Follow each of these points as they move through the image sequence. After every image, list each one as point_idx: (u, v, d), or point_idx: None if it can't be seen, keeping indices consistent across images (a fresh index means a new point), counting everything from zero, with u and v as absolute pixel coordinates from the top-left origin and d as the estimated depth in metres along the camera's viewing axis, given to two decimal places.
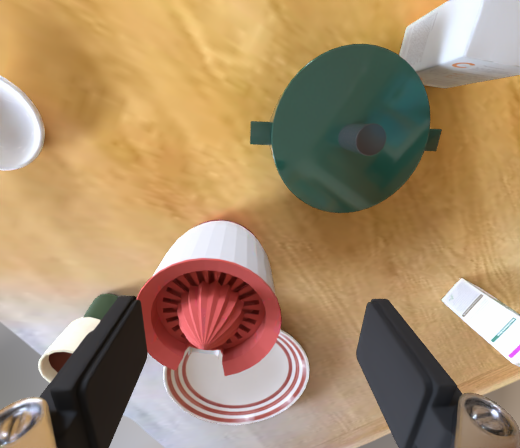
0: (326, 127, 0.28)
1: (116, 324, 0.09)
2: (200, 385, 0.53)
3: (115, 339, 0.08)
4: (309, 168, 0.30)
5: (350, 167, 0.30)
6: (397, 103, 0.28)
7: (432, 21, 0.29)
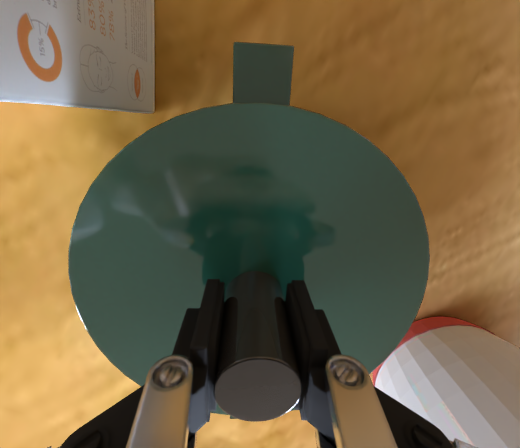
0: None
1: (215, 301, 0.10)
2: None
3: (219, 312, 0.10)
4: None
5: (320, 288, 0.13)
6: (175, 207, 0.11)
7: None
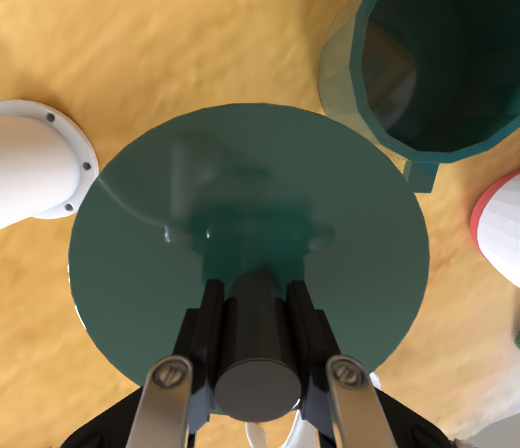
0: None
1: (215, 301, 0.10)
2: None
3: (219, 312, 0.10)
4: None
5: (320, 289, 0.13)
6: (175, 208, 0.11)
7: None
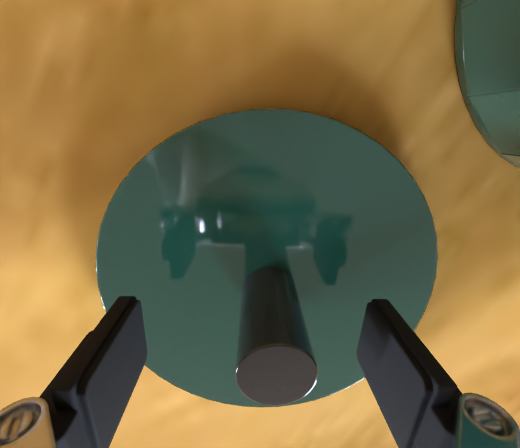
0: None
1: (116, 324, 0.09)
2: None
3: (115, 339, 0.08)
4: (325, 354, 0.15)
5: (331, 284, 0.14)
6: (196, 206, 0.12)
7: None
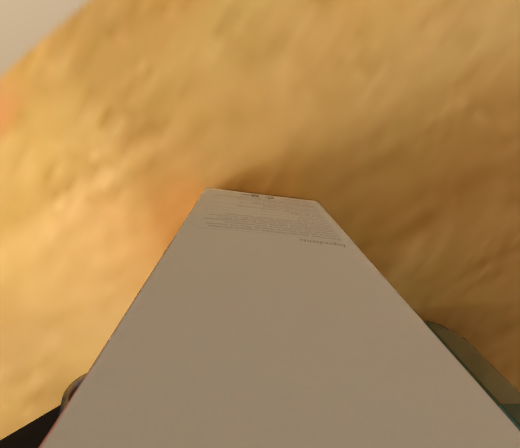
0: None
1: None
2: None
3: None
4: None
5: None
6: None
7: None
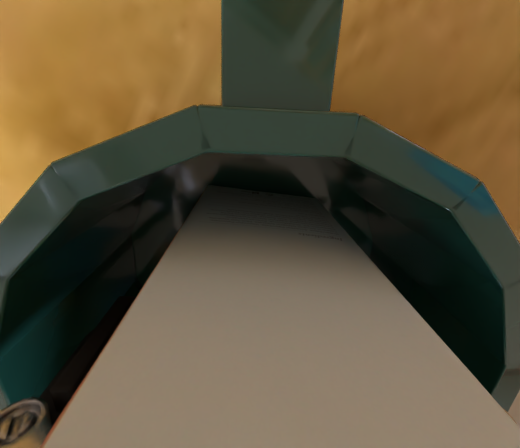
0: None
1: (116, 324, 0.09)
2: None
3: None
4: None
5: None
6: None
7: None
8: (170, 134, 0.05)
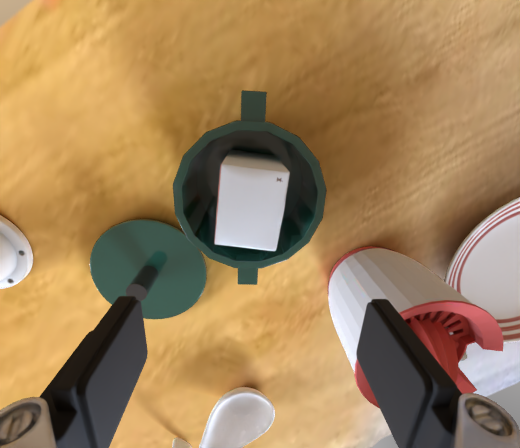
0: None
1: (116, 324, 0.09)
2: None
3: (115, 339, 0.08)
4: (174, 296, 0.42)
5: (170, 271, 0.40)
6: (121, 246, 0.39)
7: None
8: (231, 126, 0.26)
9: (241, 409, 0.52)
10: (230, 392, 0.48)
